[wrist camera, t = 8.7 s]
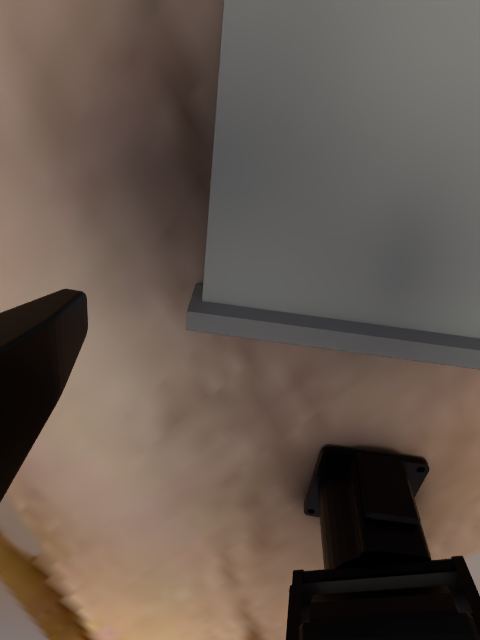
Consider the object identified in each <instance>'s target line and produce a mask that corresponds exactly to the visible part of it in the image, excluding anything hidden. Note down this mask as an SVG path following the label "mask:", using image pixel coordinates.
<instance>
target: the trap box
mask: <svg viewBox="0 0 480 640" xmlns="http://www.w3.org/2000/svg"><path fill="white" fill-rule="evenodd" d="M186 330H190V331H197V332H205V333H212V334H220V335H227V336H234V337H242V338H249V339H257V340H264V341H272V342H279V343H286V344H294V345H301V346H309V347H316V348H324V349H331V350H338V351H346V352H353V353H361V354H368V355H376V356H383V357H391V358H398V359H405V360H413V361H420V362H428V363H435V364H443V365H450V366H457V367H465V368H472V369H480V0H224V11H223V24H222V38H221V51H220V65H219V78H218V92H217V105H216V119H215V132H214V146H213V159H212V173H211V186H210V200H209V213H208V227H207V240H206V254H205V267H204V281H203V285H201V284H196V286H195V289H194V292H193V295H192V298H191V301H190V304H189V307H188V310H187V325H186Z"/></svg>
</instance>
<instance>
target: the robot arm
mask: <svg viewBox="0 0 480 640" xmlns="http://www.w3.org/2000/svg"><path fill="white" fill-rule="evenodd" d="M87 330H88V314H87V297H86V294H85V293H84V292H82V291H77V290H71V289H63V290H60V291H57V292H55V293H52V294H49V295H47V296H44V297H41V298H39V299H36V300H33V301H31V302H28V303H25V304H23V305H20V306H17V307H15V308H12V309H10V310H7V311H4V312H2V313H0V502H1V500H2V499H3V497H4V495H5V493H6V492H7V490H8V488H9V486H10V485H11V483H12V481H13V479H14V478H15V476H16V474H17V472H18V471H19V469H20V467H21V465H22V464H23V462H24V460H25V458H26V457H27V455H28V453H29V451H30V450H31V448H32V446H33V444H34V443H35V441H36V439H37V437H38V436H39V434H40V432H41V430H42V429H43V427H44V425H45V423H46V422H47V420H48V418H49V416H50V415H51V413H52V411H53V409H54V408H55V406H56V404H57V402H58V400H59V398H60V396H61V394H62V392H63V390H64V388H65V386H66V383H67V381H68V378H69V376H70V373H71V371H72V369H73V366H74V364H75V361H76V359H77V357H78V354H79V352H80V349H81V347H82V345H83V342H84V340H85V337H86V334H87ZM428 472H429V466H428V463H427V461H426V460H424V459H419V458H411V457H404V456H397V455H389V454H382V453H374V452H367V451H360V450H352V449H345V448H337V447H325V448H323V449H322V450H321V453H320V456H319V459H318V462H317V465H316V468H315V471H314V474H313V478H312V481H311V484H310V487H309V490H308V493H307V496H306V499H305V502H304V513H305V514H306V515H309V516H315V517H320V525H321V537H322V549H323V560H324V570H313V571H304V570H293V580H292V585H291V586H290V589H289V605H288V618H287V631H286V640H480V596H479V593H478V591H477V589H476V586H475V584H474V581H473V579H472V577H471V574H470V572H469V570H468V567H467V565H466V563H465V560H464V558H463V556H453V557H451V559H442V560H431V556H430V553H429V549H428V546H427V543H426V539H425V536H424V532H423V529H422V525H421V522H420V517H419V513H418V510H417V506H416V503H415V499H414V497H415V496H416V494H417V492H418V490H419V488H420V486H421V485H422V483H423V481H424V479H425V477H426V475H427V474H428Z"/></svg>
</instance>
